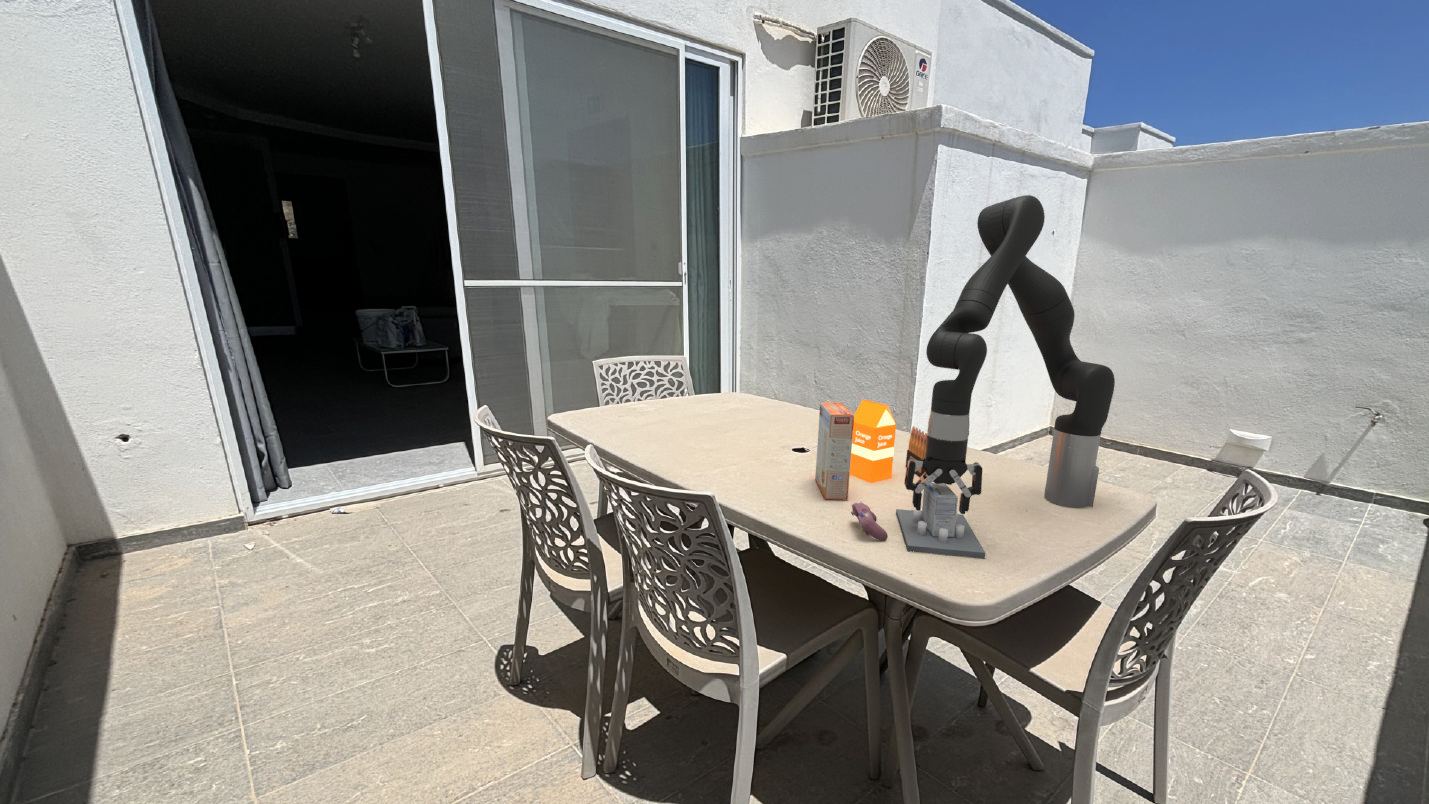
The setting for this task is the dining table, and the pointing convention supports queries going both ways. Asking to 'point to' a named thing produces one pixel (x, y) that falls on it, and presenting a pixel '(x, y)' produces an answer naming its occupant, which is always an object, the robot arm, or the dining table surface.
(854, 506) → the video game controller
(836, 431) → the cracker box
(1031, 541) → the dining table surface
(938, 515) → the medicine box
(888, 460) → the orange juice
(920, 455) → the ammunition clip
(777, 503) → the dining table surface
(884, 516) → the dining table surface
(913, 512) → the stub jig
